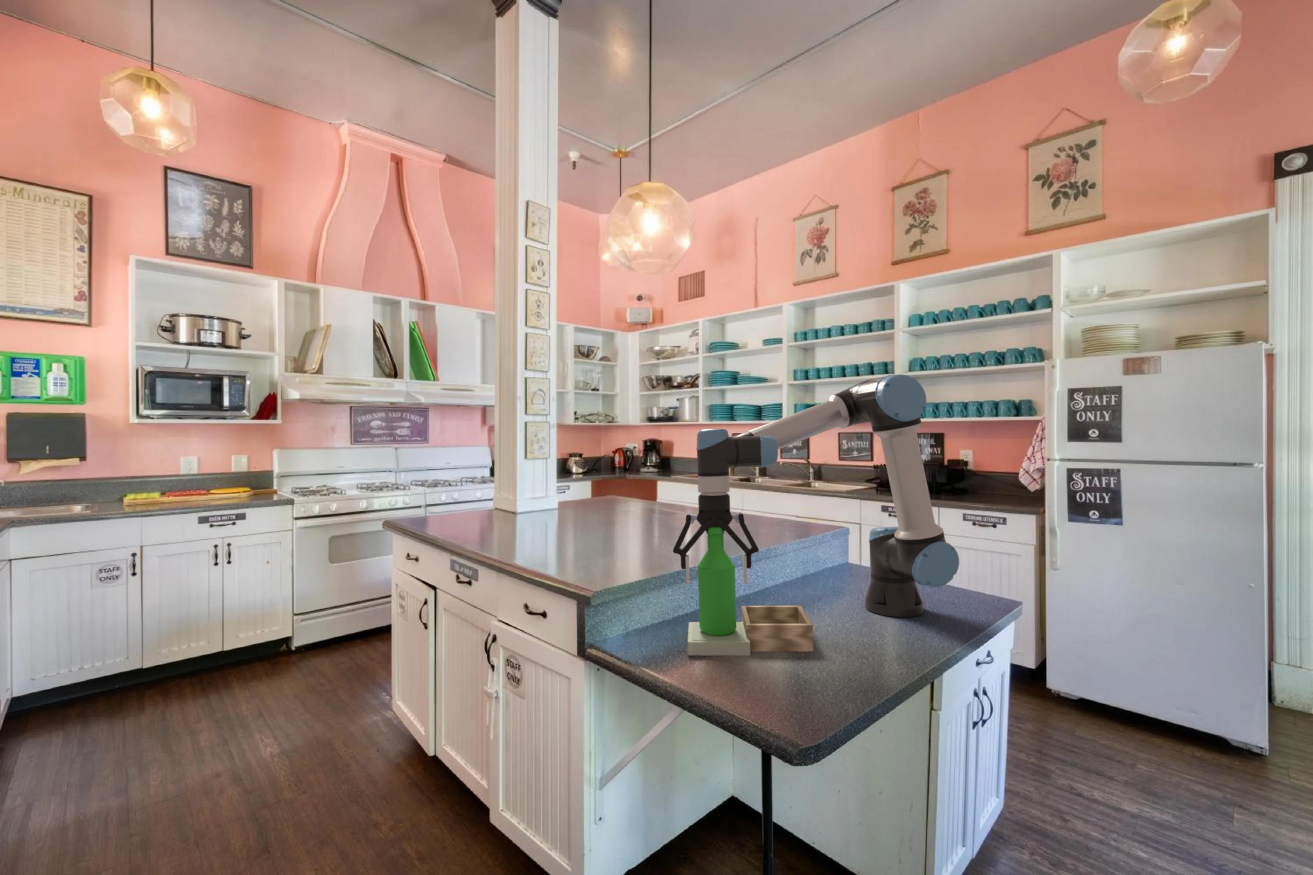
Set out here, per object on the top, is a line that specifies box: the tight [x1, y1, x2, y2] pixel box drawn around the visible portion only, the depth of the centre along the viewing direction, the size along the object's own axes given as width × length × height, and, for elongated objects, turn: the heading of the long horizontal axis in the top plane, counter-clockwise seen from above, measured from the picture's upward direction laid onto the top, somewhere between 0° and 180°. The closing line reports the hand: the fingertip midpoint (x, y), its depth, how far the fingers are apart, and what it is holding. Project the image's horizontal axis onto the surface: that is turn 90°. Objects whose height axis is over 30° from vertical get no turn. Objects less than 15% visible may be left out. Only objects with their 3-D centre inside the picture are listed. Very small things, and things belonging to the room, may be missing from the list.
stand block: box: [687, 621, 751, 657], centre depth 133 cm, size 14×14×3 cm
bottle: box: [697, 527, 737, 636], centre depth 134 cm, size 9×9×25 cm
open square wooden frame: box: [740, 605, 814, 652], centre depth 135 cm, size 15×15×6 cm
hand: (716, 582), depth 134 cm, fingers open, 13 cm apart
